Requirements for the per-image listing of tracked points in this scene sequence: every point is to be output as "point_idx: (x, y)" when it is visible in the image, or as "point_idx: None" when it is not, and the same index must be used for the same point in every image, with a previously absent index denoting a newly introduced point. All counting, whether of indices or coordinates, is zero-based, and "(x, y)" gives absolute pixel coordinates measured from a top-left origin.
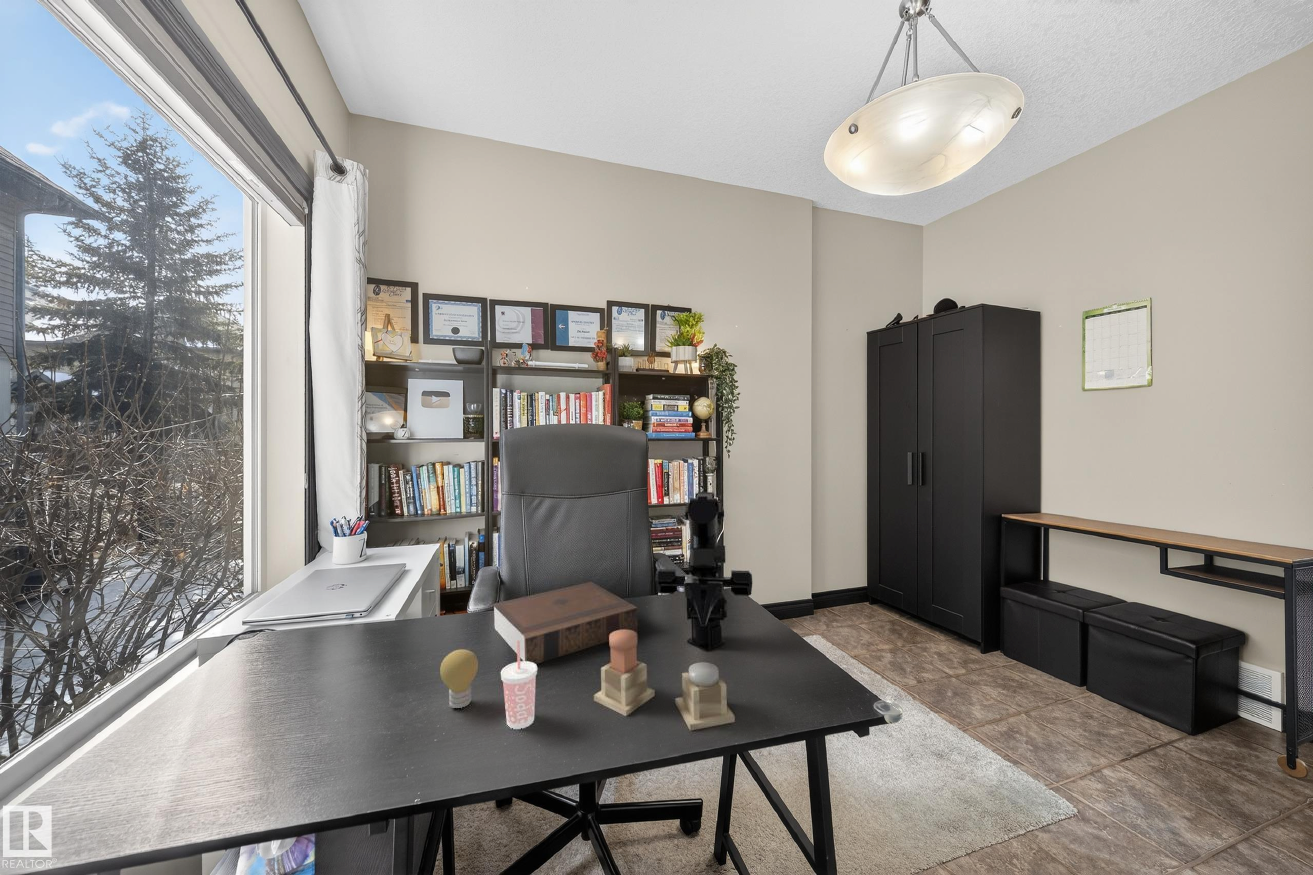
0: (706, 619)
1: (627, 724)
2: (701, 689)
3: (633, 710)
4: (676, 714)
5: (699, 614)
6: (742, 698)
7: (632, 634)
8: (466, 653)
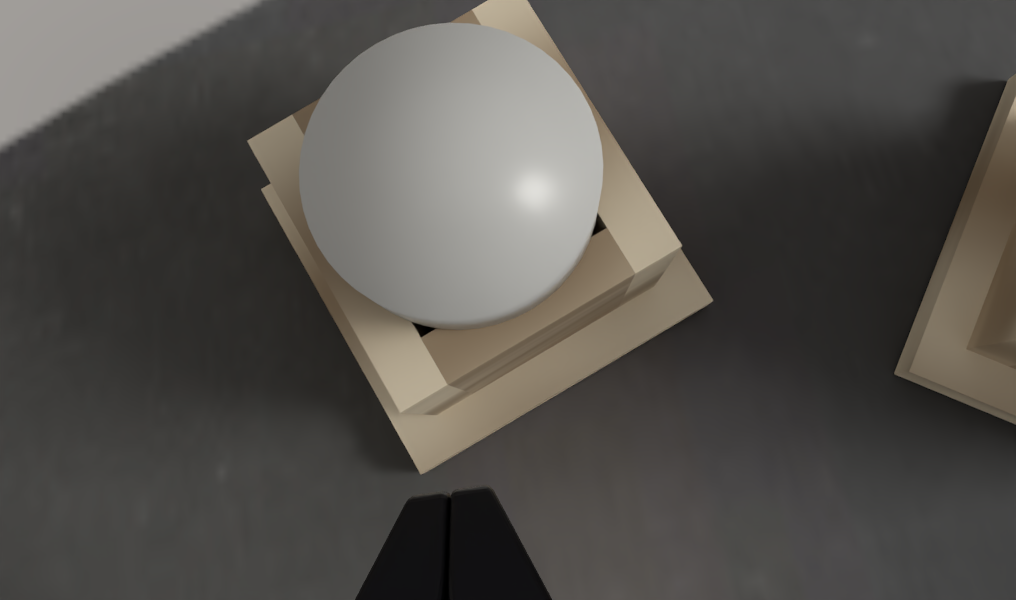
0: (383, 546)
1: (962, 3)
2: (451, 22)
3: (981, 148)
4: (669, 186)
5: (532, 594)
6: (236, 491)
7: None
8: None
